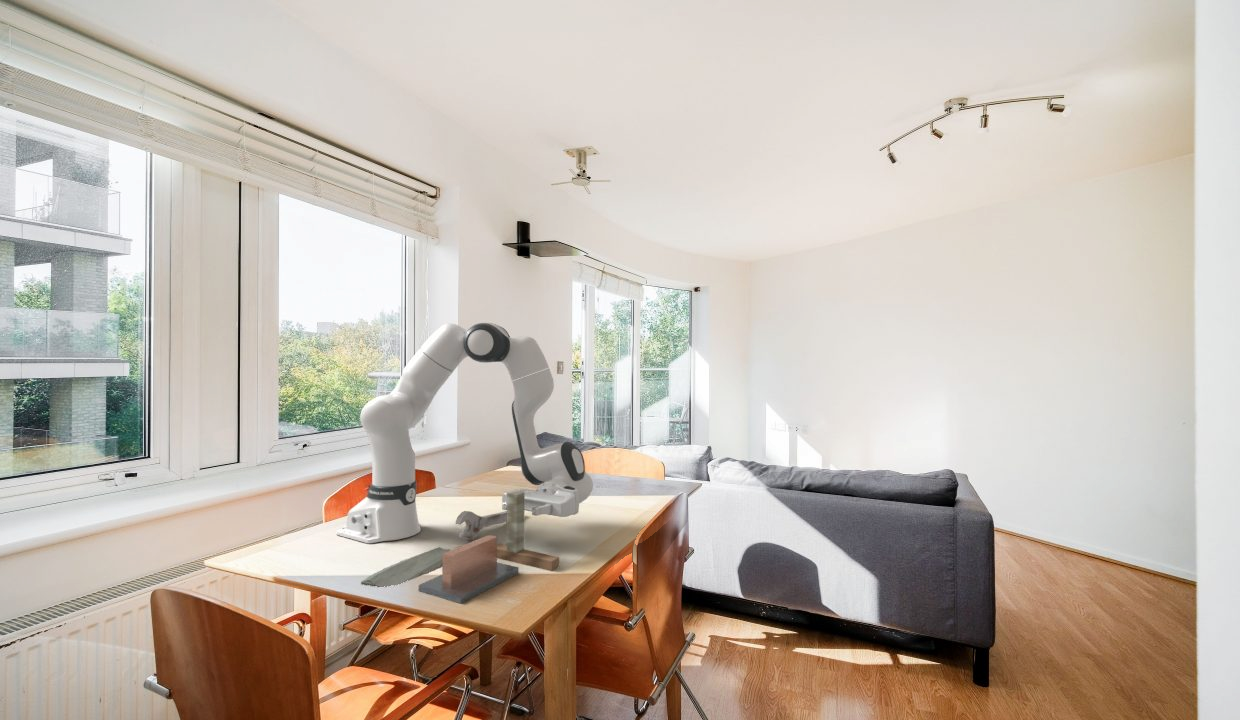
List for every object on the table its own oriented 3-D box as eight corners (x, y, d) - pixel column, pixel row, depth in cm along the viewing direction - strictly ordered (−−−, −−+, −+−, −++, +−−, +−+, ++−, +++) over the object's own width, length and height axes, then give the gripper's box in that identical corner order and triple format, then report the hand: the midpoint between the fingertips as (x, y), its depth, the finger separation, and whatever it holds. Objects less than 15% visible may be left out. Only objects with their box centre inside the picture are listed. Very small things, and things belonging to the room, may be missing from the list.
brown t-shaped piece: (474, 553, 136) (474, 488, 136) (482, 549, 139) (483, 485, 139) (551, 572, 125) (552, 500, 125) (559, 567, 127) (559, 497, 127)
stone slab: (462, 563, 133) (432, 551, 137) (463, 552, 133) (433, 541, 137) (389, 600, 113) (356, 585, 117) (390, 587, 113) (357, 573, 117)
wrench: (523, 526, 167) (458, 545, 140) (518, 526, 168) (453, 544, 141) (525, 500, 168) (461, 513, 141) (520, 499, 169) (455, 512, 142)
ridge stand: (418, 590, 113) (419, 552, 113) (479, 562, 129) (479, 529, 129) (460, 603, 108) (460, 563, 108) (518, 572, 123) (518, 537, 123)
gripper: (521, 480, 150) (487, 491, 138) (583, 490, 140) (552, 502, 128) (521, 503, 150) (486, 515, 138) (583, 514, 140) (552, 528, 128)
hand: (519, 509), depth 133 cm, fingers open, 8 cm apart
